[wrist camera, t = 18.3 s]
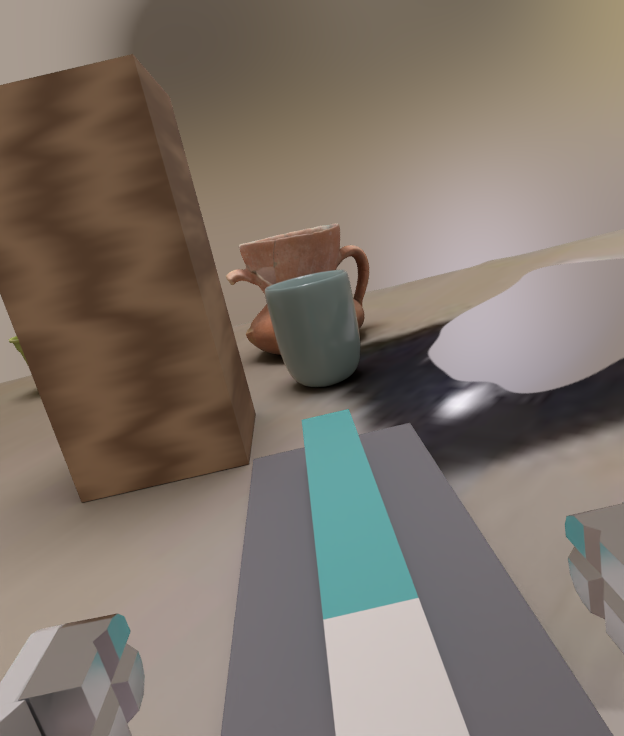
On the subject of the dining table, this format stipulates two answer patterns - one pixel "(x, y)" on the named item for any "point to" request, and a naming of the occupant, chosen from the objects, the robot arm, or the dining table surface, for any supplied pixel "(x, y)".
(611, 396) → the dining table surface
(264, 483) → the mat
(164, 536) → the dining table surface
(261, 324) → the ceramic jug
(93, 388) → the tall stand
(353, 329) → the cup
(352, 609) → the block
